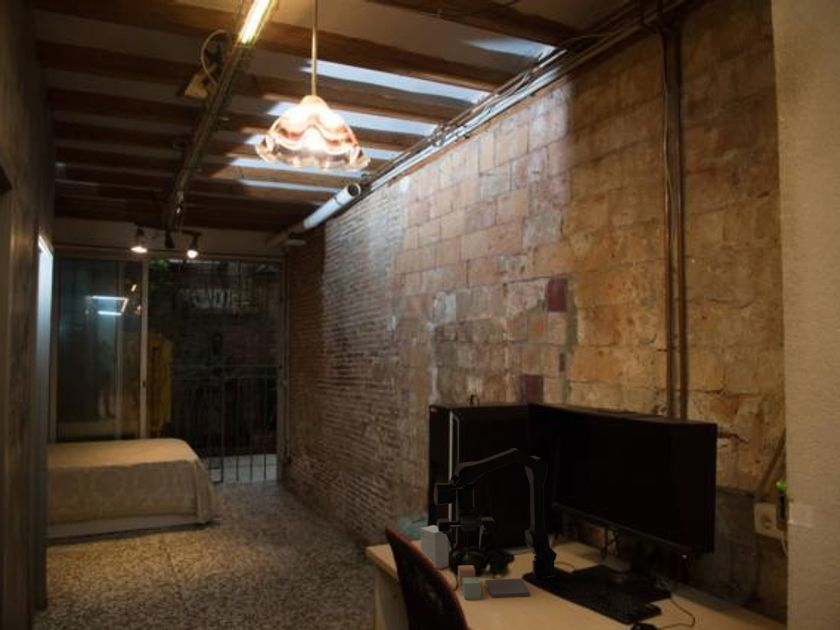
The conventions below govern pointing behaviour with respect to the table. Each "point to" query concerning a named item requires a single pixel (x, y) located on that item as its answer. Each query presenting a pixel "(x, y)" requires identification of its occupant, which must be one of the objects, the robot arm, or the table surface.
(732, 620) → the table surface
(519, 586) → the tower base
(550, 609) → the table surface
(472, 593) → the sage brick
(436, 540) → the small box
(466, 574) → the terracotta brick
